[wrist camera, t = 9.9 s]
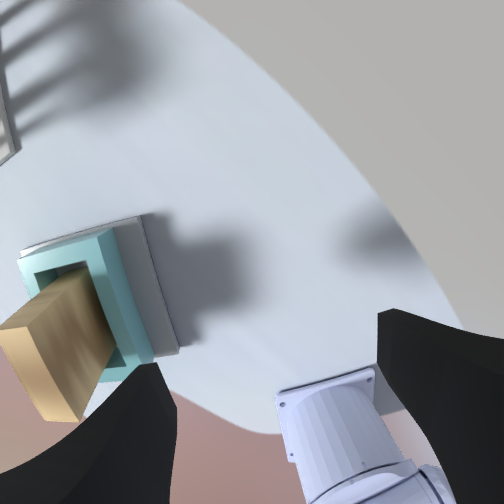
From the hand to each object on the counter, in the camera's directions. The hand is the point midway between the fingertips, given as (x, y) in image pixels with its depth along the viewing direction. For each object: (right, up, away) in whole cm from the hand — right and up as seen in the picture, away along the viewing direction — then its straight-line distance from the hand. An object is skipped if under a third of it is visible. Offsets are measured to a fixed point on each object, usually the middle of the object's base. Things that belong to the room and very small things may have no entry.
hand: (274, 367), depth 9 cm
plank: (-11, 0, +8) cm, 14 cm away
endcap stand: (-11, 0, +9) cm, 14 cm away
